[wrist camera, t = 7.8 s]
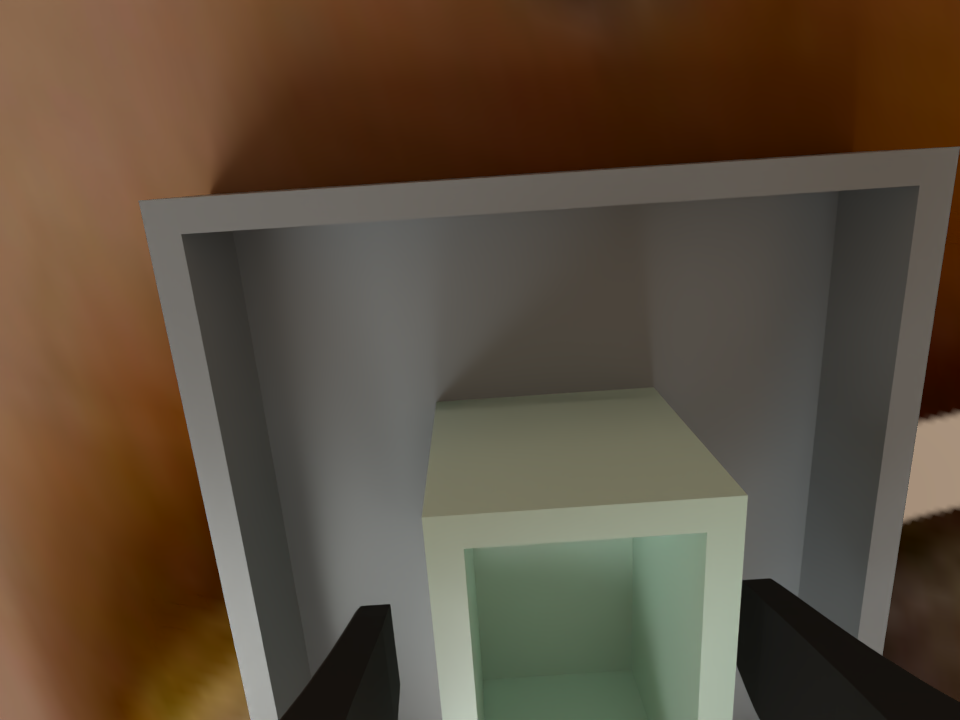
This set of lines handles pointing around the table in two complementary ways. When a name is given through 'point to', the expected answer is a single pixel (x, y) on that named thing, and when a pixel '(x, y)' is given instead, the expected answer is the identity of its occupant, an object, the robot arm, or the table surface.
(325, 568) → the grey tray
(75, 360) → the table surface
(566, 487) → the mint crate
